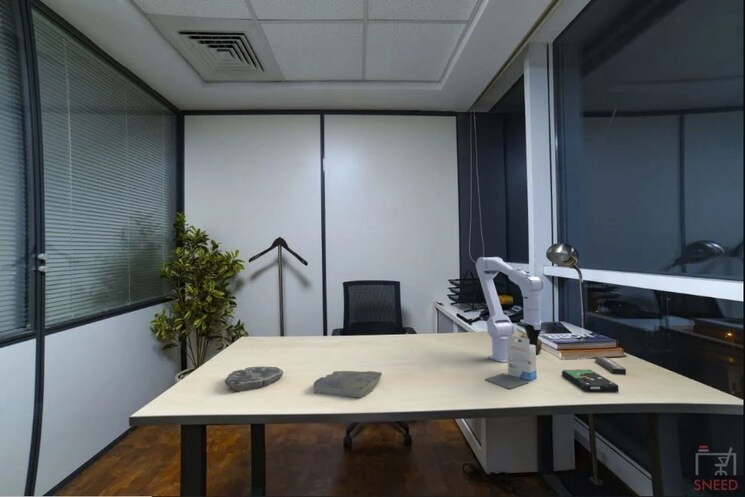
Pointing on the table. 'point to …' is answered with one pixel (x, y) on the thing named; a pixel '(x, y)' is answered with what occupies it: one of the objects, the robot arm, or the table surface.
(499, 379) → the mat
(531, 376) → the ink box
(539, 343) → the seashell
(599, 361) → the multiport hub
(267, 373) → the brain slice
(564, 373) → the disk drive
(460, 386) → the table surface
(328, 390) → the fossil
